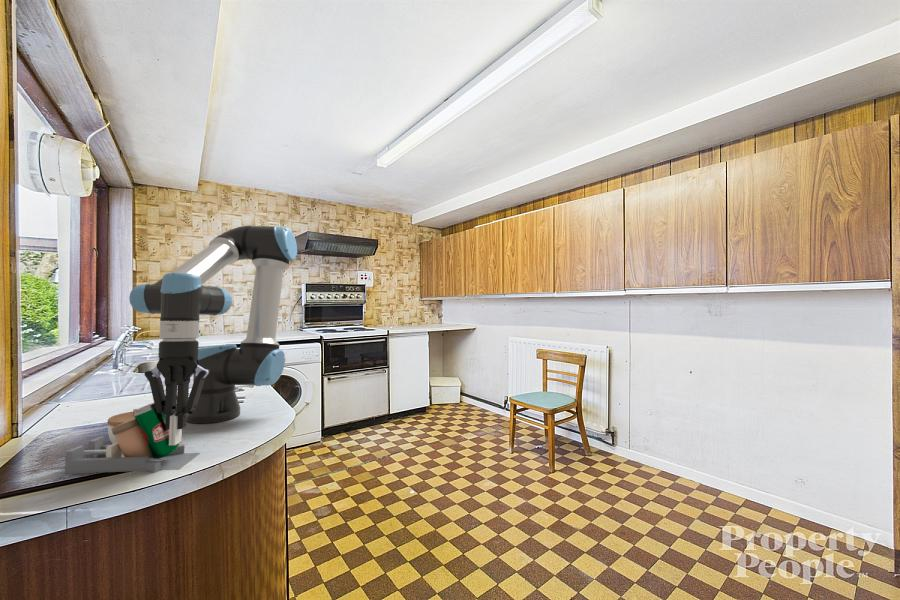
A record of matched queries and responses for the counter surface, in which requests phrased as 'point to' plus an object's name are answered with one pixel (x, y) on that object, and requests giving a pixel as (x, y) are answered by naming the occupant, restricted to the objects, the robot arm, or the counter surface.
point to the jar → (130, 439)
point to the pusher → (106, 451)
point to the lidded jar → (118, 422)
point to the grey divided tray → (121, 460)
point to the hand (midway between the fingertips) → (175, 443)
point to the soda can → (154, 431)
